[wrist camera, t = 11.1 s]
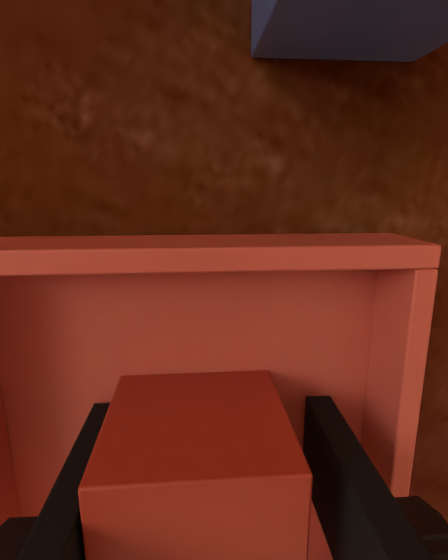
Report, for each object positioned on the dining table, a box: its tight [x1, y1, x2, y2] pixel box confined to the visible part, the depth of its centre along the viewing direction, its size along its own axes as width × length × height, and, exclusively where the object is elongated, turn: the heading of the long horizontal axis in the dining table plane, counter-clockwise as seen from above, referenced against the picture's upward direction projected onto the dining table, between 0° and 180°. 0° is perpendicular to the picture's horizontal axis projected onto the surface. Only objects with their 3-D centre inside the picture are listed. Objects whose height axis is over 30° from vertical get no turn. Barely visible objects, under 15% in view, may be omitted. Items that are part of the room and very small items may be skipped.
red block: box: [78, 370, 313, 560], centre depth 10 cm, size 4×4×4 cm
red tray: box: [0, 233, 441, 560], centre depth 11 cm, size 12×12×2 cm
